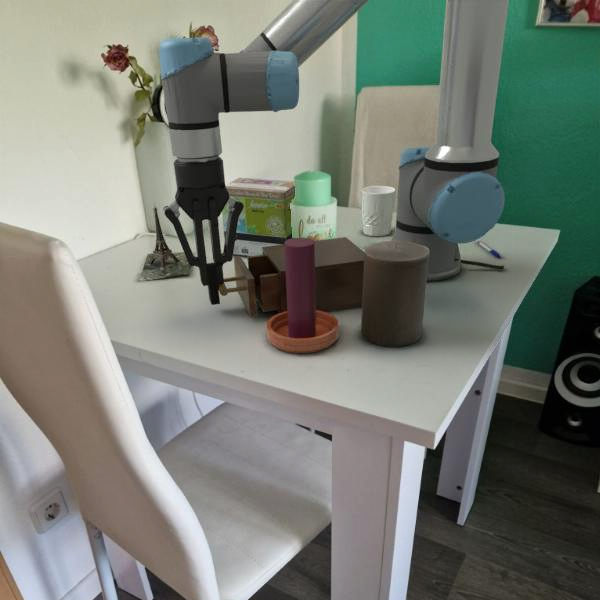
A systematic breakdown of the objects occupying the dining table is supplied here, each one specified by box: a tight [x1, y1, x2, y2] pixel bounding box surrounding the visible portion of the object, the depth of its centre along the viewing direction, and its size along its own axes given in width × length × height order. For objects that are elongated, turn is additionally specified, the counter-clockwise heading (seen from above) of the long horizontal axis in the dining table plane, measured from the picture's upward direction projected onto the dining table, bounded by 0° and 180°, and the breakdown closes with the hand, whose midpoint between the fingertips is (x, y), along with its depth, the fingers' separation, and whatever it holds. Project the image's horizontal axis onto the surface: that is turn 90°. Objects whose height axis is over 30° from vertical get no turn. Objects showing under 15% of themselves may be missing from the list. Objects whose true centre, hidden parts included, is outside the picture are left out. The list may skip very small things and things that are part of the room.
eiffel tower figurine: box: [139, 203, 190, 282], centre depth 116 cm, size 15×10×13 cm
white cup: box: [361, 185, 397, 237], centre depth 133 cm, size 8×8×10 cm
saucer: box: [265, 310, 340, 354], centre depth 89 cm, size 11×11×2 cm
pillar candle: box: [360, 240, 429, 348], centre depth 86 cm, size 10×10×15 cm
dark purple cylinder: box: [284, 237, 316, 338], centre depth 85 cm, size 4×4×15 cm
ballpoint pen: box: [477, 241, 502, 259], centre depth 122 cm, size 10×1×1 cm, turn 10°
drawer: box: [218, 254, 281, 318], centre depth 99 cm, size 20×12×7 cm, turn 106°
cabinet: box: [262, 236, 364, 314], centre depth 101 cm, size 16×13×8 cm
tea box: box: [221, 177, 295, 257], centre depth 122 cm, size 15×10×15 cm
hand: (214, 301), depth 98 cm, fingers closed
